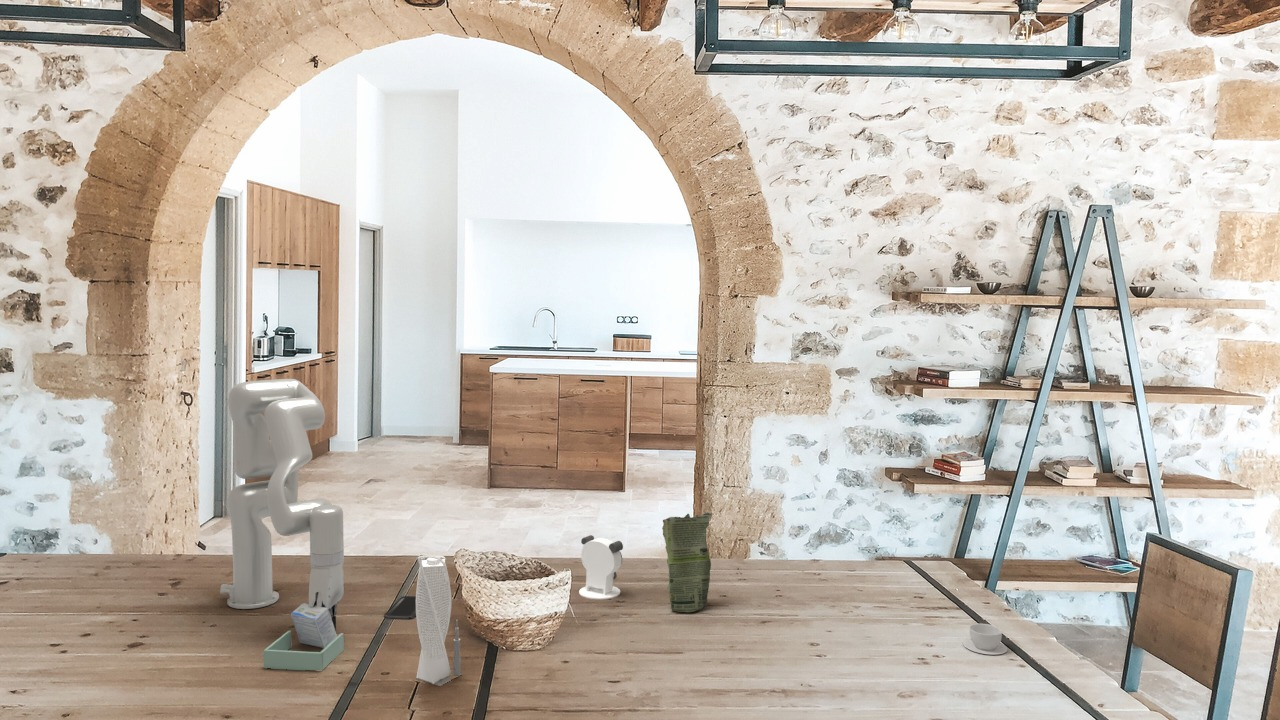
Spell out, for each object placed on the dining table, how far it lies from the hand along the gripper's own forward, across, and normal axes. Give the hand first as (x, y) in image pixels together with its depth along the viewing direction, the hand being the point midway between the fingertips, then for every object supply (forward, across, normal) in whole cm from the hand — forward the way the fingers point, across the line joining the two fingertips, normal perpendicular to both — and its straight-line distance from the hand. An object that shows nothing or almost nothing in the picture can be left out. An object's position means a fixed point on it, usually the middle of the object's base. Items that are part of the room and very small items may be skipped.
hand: (328, 633), depth 222 cm
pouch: (+2, -32, +84) cm, 90 cm away
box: (+1, +12, 0) cm, 12 cm away
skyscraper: (+2, +18, +32) cm, 37 cm away
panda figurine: (+2, -40, +60) cm, 72 cm away
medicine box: (+1, +3, -1) cm, 3 cm away
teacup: (+2, -12, +156) cm, 156 cm away
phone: (+2, -22, +12) cm, 25 cm away
